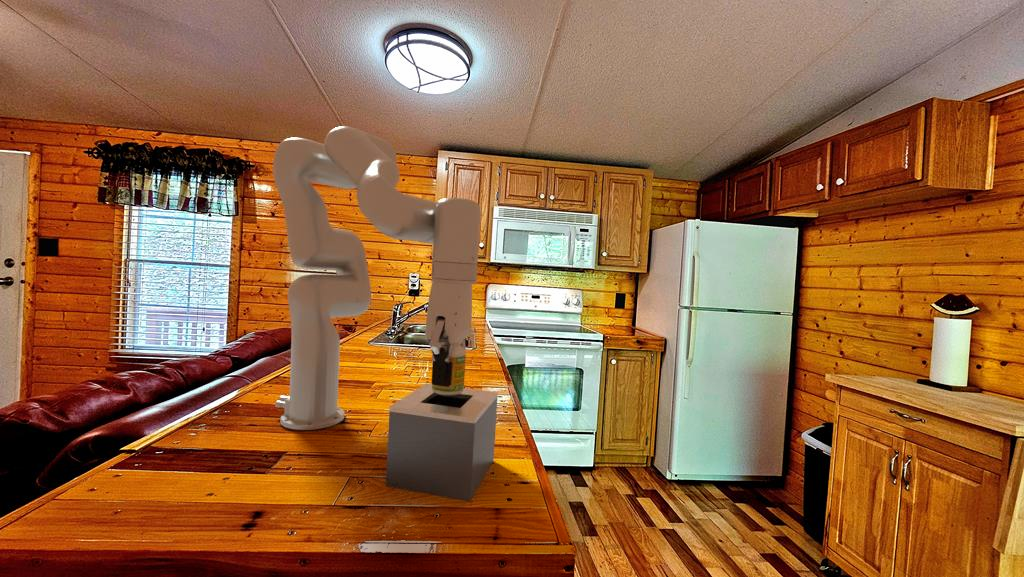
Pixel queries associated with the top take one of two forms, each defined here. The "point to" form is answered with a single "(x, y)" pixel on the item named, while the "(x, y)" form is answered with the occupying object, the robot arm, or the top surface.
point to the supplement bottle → (454, 371)
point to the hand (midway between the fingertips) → (448, 379)
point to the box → (441, 441)
